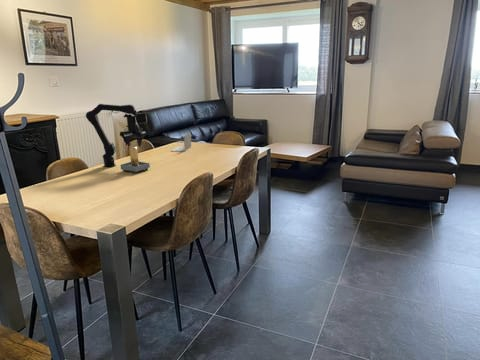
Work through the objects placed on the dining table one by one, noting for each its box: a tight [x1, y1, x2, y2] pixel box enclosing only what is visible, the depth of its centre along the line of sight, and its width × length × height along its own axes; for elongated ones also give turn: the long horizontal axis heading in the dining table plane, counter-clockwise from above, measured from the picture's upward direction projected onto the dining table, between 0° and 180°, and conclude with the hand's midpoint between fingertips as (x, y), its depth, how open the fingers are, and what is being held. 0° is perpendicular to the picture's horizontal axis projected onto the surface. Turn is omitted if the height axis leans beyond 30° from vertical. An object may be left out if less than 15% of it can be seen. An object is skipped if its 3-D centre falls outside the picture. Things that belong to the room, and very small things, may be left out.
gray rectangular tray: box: [119, 161, 151, 174], centre depth 238 cm, size 14×12×4 cm
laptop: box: [170, 132, 192, 153], centre depth 301 cm, size 18×12×13 cm
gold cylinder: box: [128, 146, 140, 167], centre depth 236 cm, size 5×5×12 cm
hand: (134, 146), depth 250 cm, fingers open, 9 cm apart
